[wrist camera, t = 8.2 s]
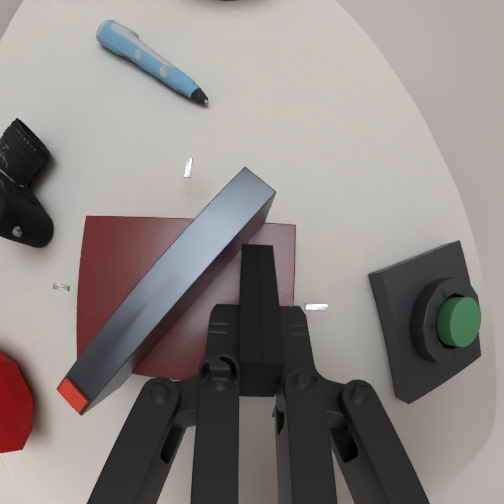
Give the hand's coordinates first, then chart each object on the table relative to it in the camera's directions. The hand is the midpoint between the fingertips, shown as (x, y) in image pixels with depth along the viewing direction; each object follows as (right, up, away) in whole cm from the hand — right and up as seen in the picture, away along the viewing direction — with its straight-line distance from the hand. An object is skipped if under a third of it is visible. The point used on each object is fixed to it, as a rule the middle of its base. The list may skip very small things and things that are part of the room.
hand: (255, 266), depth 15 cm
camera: (-21, +7, +6) cm, 23 cm away
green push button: (+15, -4, +3) cm, 16 cm away
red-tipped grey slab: (-5, -2, +2) cm, 6 cm away
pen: (-11, +20, +9) cm, 25 cm away
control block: (+15, -5, +6) cm, 17 cm away
